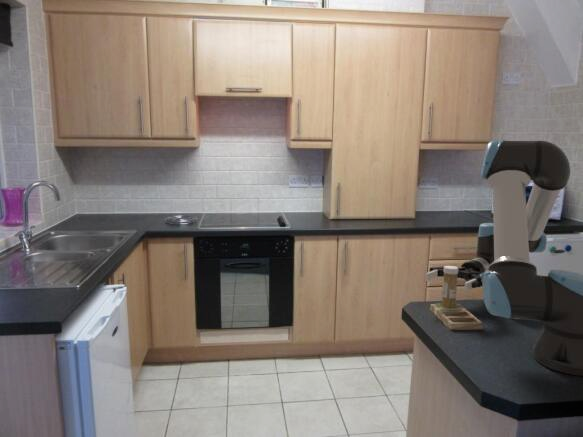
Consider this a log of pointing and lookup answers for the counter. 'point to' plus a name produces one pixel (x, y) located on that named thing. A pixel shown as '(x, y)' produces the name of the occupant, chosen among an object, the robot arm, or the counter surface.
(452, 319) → the slotted wooden board
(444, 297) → the sprinkles bottle
